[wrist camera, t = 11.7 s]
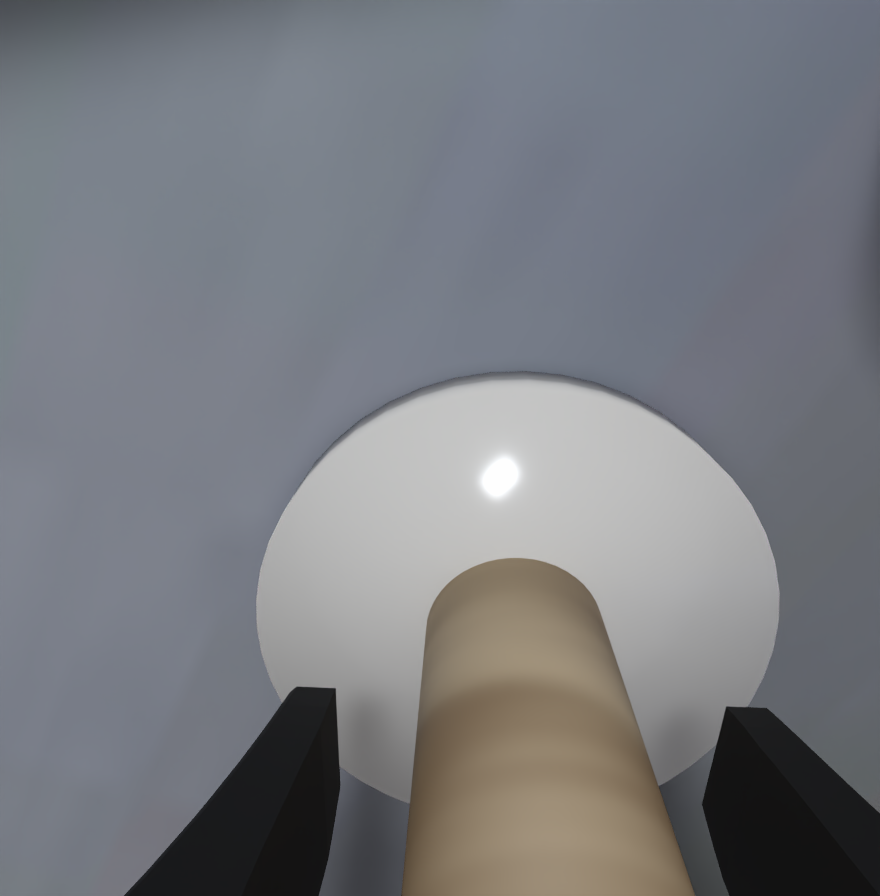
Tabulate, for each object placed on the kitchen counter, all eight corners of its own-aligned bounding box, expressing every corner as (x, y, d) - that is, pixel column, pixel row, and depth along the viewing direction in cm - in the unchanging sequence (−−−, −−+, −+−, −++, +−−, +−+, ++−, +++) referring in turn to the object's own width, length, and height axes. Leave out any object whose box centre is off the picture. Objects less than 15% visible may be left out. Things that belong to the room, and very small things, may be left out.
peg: (590, 707, 13) (707, 1171, 7) (423, 698, 13) (385, 1147, 7) (614, 562, 11) (785, 967, 5) (429, 552, 11) (389, 942, 5)
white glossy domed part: (704, 786, 15) (724, 833, 14) (289, 765, 15) (275, 810, 14) (803, 380, 11) (840, 399, 10) (254, 362, 11) (232, 379, 10)
